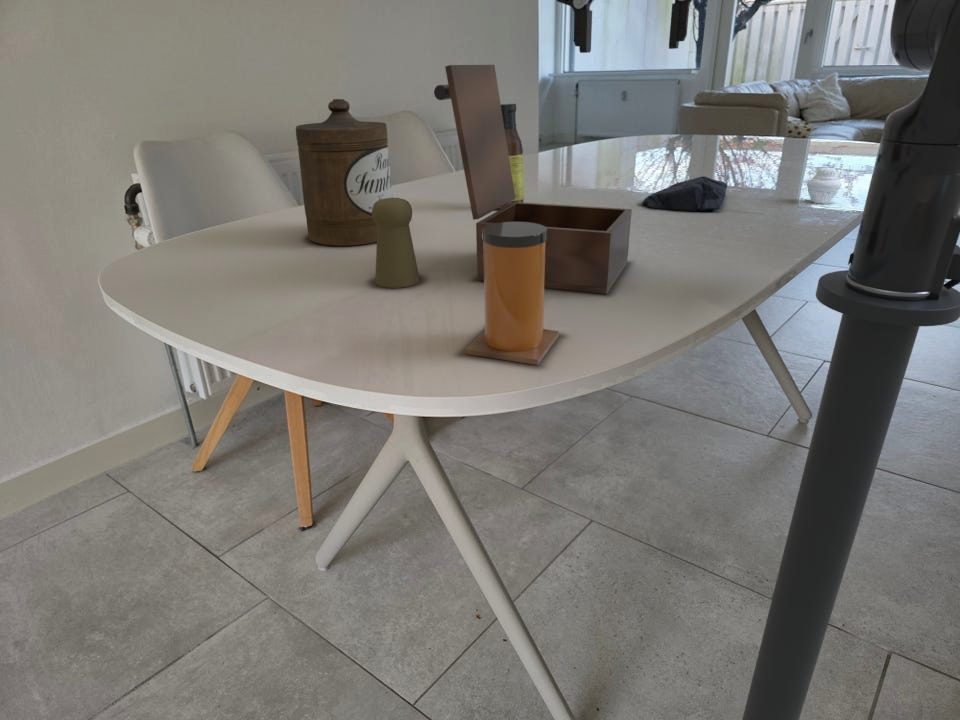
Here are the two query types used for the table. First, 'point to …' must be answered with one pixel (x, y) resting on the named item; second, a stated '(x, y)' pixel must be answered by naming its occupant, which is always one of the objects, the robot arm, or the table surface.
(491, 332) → the honey jar
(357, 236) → the wooden container
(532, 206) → the chest
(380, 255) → the pepper shaker
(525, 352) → the coaster
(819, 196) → the white vase
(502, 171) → the lid
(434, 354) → the table surface
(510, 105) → the sauce bottle
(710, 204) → the dark slate chunk
